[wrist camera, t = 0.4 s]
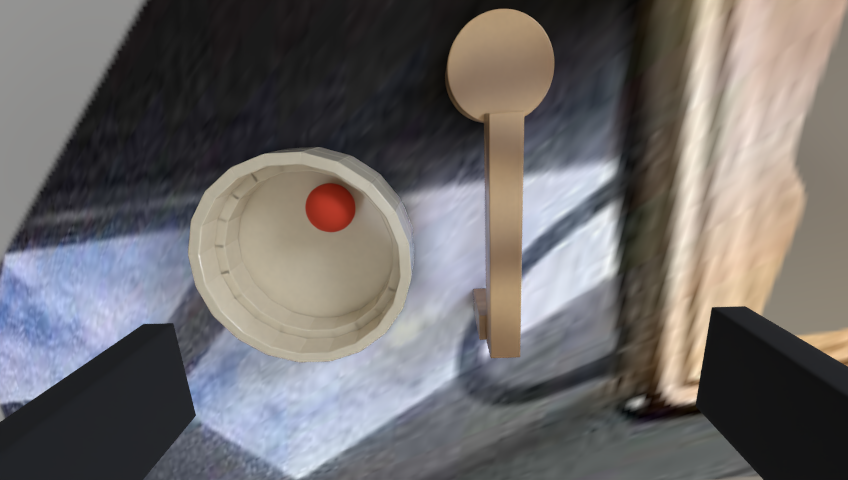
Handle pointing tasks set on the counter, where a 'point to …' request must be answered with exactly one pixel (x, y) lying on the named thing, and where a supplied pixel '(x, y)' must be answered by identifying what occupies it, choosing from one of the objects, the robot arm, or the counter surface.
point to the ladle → (500, 150)
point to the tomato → (330, 207)
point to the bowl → (301, 256)
